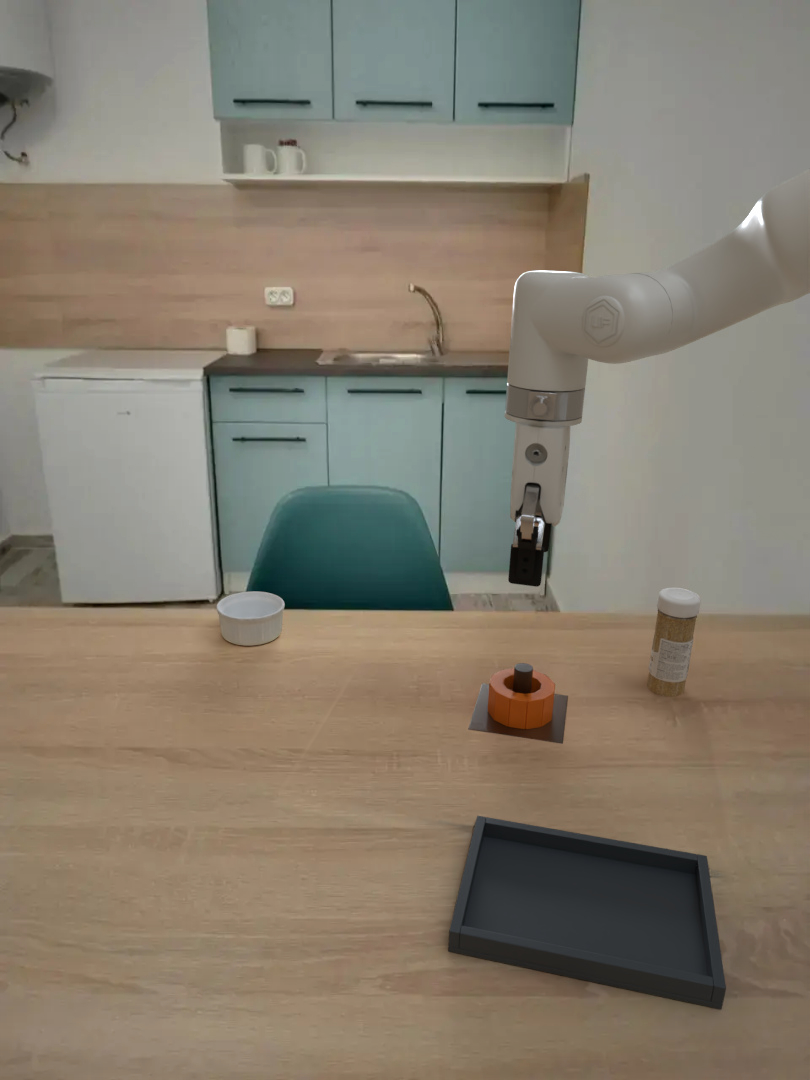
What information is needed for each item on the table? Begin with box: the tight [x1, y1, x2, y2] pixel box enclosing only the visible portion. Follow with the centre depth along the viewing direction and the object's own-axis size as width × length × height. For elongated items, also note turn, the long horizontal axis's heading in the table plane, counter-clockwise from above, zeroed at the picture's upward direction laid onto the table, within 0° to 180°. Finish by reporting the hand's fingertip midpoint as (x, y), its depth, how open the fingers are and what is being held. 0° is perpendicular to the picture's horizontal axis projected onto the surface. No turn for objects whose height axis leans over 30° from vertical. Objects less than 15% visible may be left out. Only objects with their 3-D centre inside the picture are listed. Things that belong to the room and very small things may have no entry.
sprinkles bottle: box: [646, 587, 701, 698], centre depth 95 cm, size 5×5×14 cm
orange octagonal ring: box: [488, 667, 556, 729], centre depth 91 cm, size 7×7×4 cm
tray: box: [447, 815, 727, 1010], centre depth 66 cm, size 20×14×2 cm
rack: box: [468, 662, 569, 745], centre depth 91 cm, size 10×10×7 cm
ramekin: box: [216, 590, 286, 647], centre depth 110 cm, size 9×9×4 cm
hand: (529, 566), depth 87 cm, fingers open, 9 cm apart
